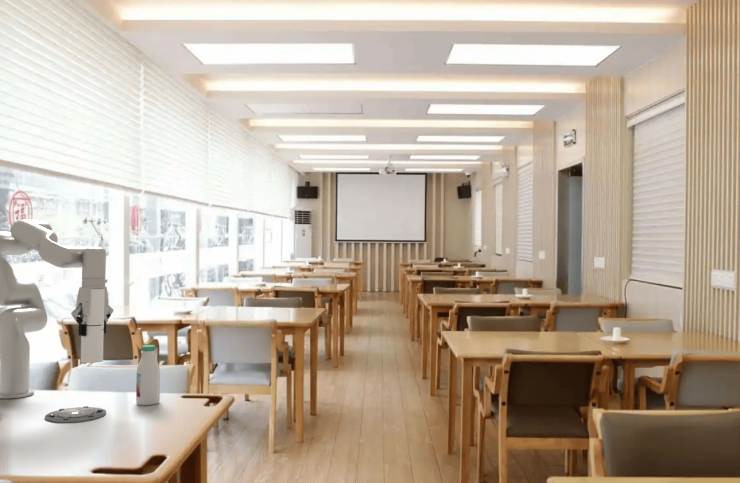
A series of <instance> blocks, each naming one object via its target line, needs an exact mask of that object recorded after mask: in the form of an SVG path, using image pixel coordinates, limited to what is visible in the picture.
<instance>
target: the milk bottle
mask: <svg viewBox="0 0 740 483" xmlns="http://www.w3.org/2000/svg"><path fill="white" fill-rule="evenodd" d="M159 365H160V364H159V363H158V360H157V358H156V345H155V344H146V345H141V358H140V361H139V363H138V365H137V368H136V392H135V393H136V394H135V395H136V398H135V399H136V400H135V402H136V404H137V405H139V406H153V405H156V404H159V403H160V399H161V398H160V397H161V392H160V391H161V387H160V386H161V384H160V380H161V373H160V372H161V371H160V366H159Z"/></svg>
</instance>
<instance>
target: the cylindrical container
mask: <svg viewBox="0 0 740 483" xmlns="http://www.w3.org/2000/svg"><path fill="white" fill-rule="evenodd" d="M104 297H105V289H91V308H90V315H89V316H88V317H87V320H86V322H85V324H86V325H87V331H86V336H80V362H81V363H84V364H93V363H94V364H96V363H102V362H104V340H105V339H104V335H105V334H104V330H103V329H104ZM82 315H83V313H82Z"/></svg>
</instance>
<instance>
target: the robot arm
mask: <svg viewBox="0 0 740 483" xmlns="http://www.w3.org/2000/svg"><path fill="white" fill-rule="evenodd" d="M9 229H10V231H0V306H1V307H10V308H7V309H5V310H3V311H1V312H0V399H4V400H5V399H20V398H25V397H29V396H32V395H34V394H35V390H34V389H31V388H30V365H31V364H30V359H31V358H30V356H31V353H30V352H31V351H30V347H31V346H30V342H29V340H28V338H27V336H26V334H27V333H33V332H39V331H42V330H43V329H45V328H46V327H47V326H46V325H47V324H48V313H47V310H46V308H45V304H44V301H43V297H42V295H41V292H40V289H39V287H38V285H37V284H36V283H35V282H34V281H32V280H30V279H17V277H16V275H15V273H14V269H13V267H12V266H11V264H10V262H9V261H7V260H6V258H4V255H5V256H13V255H14V256H15V255H16V256H20V255H26V254H29V253H30V252H32V251H36V252H37V253H38V255H39V257H40V258H41V259H42V260H43V261H44V262H47V263H48V264H50V265H52V266H54V267H57V268H60V269H69V268H71V269H72V268H73V269H74V268H76V269H77V268H81V286H80V287H78V288H79V289H78V291H77V295H76V296H77V297H76V305H75V309H73V310H72V312H70V313H71V316H72V317H73V319H74V321H75V322H76V324H78V336H80V337H81V336H86V331H87V325H86V324H85V322H86V320H87V317H88V316H89V315H90V308H91V289H105V297H104V329H103V330H104V335H105V334H107V322H109V319H110V318H111V315H112V314H113V313H114V308H113V307H111V305H109V293H108V288H107V286H106V284H107V283H108V279H107V278H106V268H107V267H106V266H107V265H106V264H107V250H106V249H105V248H104V247H100V246H98V247H95V246H91V247H89V246H84V245H61V244H59V243H58V241H59V240H58V235H57V234H56V233H55V232H54V231H53V227H52V226H51V224H49V223H48V222H47V221H45V220H41V219H40V220H39V219H19V220H16V221H15V222H14V223H12V225H11V227H10V228H9ZM12 306H20V307H12ZM11 307H12V308H11ZM82 313H83V315H82Z"/></svg>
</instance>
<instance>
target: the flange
mask: <svg viewBox="0 0 740 483" xmlns="http://www.w3.org/2000/svg"><path fill="white" fill-rule="evenodd" d="M106 415H107V410H106V409H104V408H101V407H96V406H94V407H93V406H88V405H87V406H79V407H78V406H77V407H68V408H59V409H57V410H54V411H51V412H47V413H46V414H45V416H44V419H45V420H46V421H47V422H49V423H50V422H51V423H57V424H72V423H73V424H74V423H82V422H88V421H94V420H99V419H100V418H103V417H105V416H106Z"/></svg>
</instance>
